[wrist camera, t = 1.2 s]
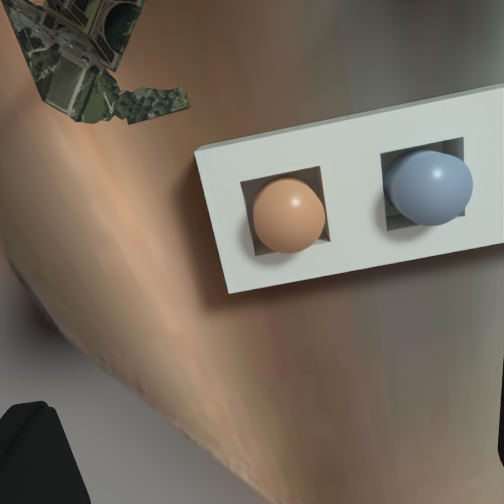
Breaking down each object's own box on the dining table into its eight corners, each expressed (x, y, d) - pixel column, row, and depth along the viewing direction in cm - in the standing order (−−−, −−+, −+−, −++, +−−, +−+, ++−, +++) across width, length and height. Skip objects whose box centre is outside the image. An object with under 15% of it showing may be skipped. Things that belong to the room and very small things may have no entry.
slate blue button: (446, 142, 26) (472, 147, 23) (449, 206, 28) (473, 218, 25) (380, 156, 27) (396, 162, 24) (385, 219, 28) (402, 232, 25)
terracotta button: (311, 169, 27) (319, 177, 24) (320, 231, 28) (329, 246, 25) (247, 182, 27) (247, 192, 24) (259, 243, 29) (261, 259, 26)
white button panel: (603, 62, 27) (659, 55, 23) (590, 203, 31) (638, 217, 27) (201, 145, 29) (194, 151, 25) (231, 271, 32) (228, 293, 28)
